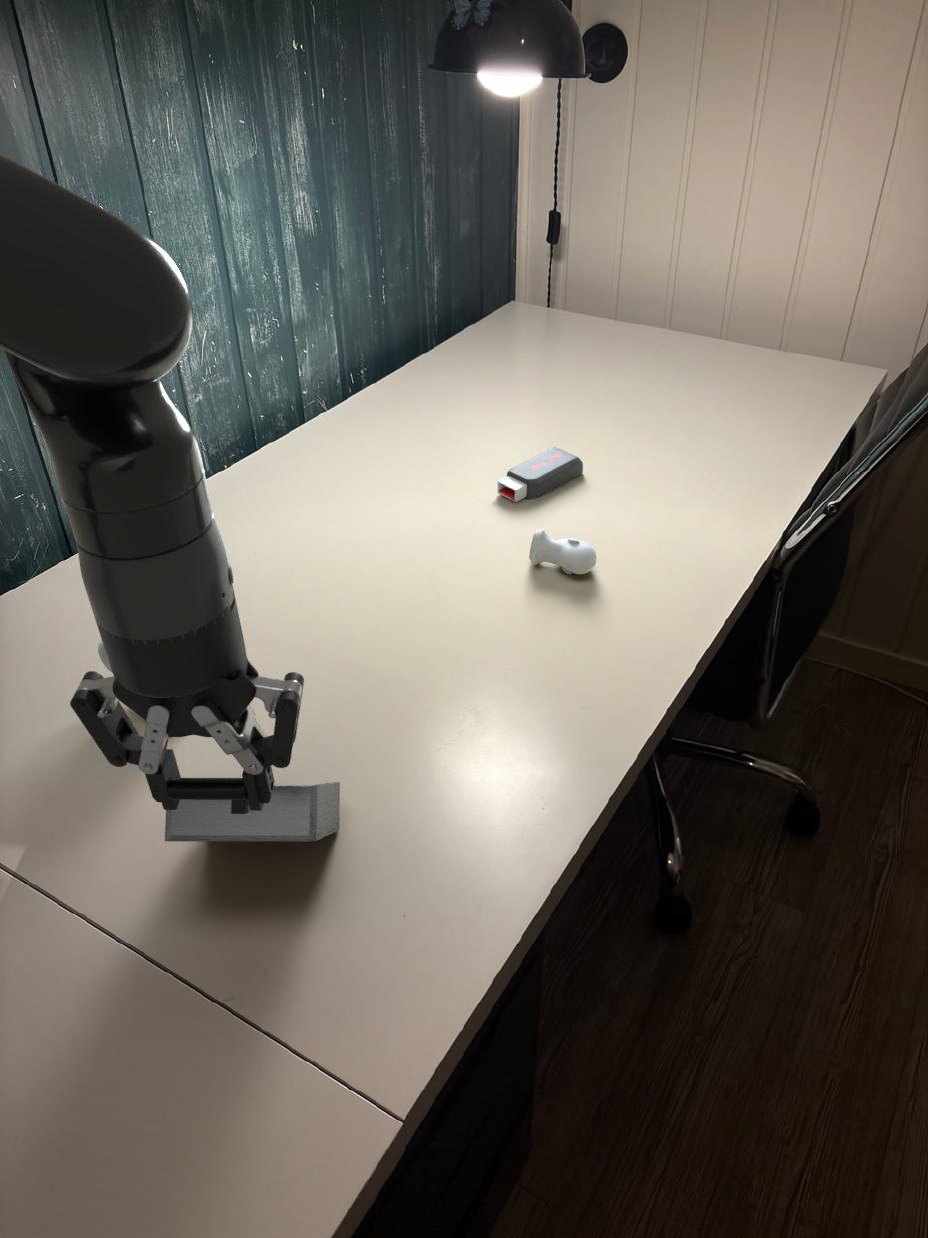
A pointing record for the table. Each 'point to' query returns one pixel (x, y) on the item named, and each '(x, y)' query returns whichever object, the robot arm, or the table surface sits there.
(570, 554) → the smooth white sculpture
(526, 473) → the usb drive
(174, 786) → the metal dustpan with handle
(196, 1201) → the table surface
